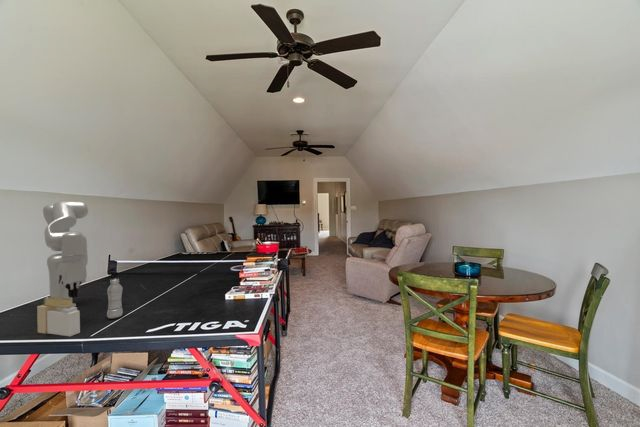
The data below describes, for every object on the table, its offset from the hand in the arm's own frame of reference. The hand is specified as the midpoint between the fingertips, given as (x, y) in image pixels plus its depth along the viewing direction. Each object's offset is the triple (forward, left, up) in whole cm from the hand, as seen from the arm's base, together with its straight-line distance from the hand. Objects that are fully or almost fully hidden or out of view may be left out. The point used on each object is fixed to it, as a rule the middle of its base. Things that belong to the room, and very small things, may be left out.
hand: (73, 296), depth 133 cm
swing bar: (0, -6, -2) cm, 7 cm away
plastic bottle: (+8, +14, -15) cm, 22 cm away
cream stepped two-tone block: (0, -6, -14) cm, 16 cm away
